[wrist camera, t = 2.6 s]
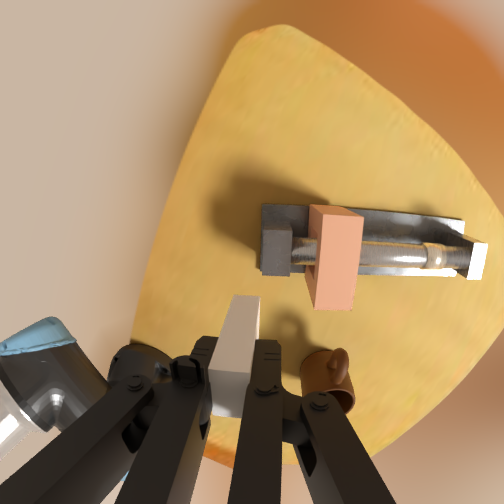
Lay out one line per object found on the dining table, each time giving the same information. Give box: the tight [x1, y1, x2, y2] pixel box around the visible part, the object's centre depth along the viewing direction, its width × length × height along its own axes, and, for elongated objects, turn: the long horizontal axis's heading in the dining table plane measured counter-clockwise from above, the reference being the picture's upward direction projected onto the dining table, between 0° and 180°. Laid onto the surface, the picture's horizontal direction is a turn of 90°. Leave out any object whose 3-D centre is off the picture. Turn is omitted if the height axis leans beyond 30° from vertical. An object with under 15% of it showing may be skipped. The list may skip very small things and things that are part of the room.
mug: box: [300, 348, 355, 415], centre depth 36 cm, size 12×8×9 cm, turn 175°
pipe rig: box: [260, 204, 487, 279], centre depth 31 cm, size 32×9×8 cm, turn 89°
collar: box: [305, 204, 364, 310], centre depth 30 cm, size 4×10×10 cm, turn 179°
